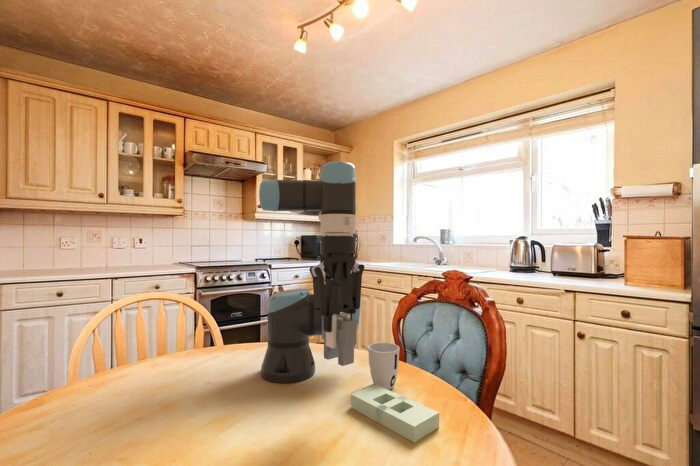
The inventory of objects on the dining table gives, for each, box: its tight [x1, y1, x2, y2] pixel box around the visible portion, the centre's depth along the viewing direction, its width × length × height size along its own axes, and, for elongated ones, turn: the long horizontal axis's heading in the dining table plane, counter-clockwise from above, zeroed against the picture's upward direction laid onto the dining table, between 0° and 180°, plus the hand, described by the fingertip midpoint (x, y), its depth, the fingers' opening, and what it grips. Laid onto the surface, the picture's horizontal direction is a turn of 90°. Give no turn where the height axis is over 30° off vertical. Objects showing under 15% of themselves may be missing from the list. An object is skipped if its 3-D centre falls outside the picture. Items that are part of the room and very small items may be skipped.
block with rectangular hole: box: [350, 384, 440, 443], centre depth 75 cm, size 18×8×3 cm, turn 41°
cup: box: [367, 342, 400, 391], centre depth 90 cm, size 8×8×10 cm
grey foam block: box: [321, 314, 357, 367], centre depth 74 cm, size 8×3×9 cm, turn 40°
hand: (338, 344), depth 74 cm, fingers closed on grey foam block, 3 cm apart
